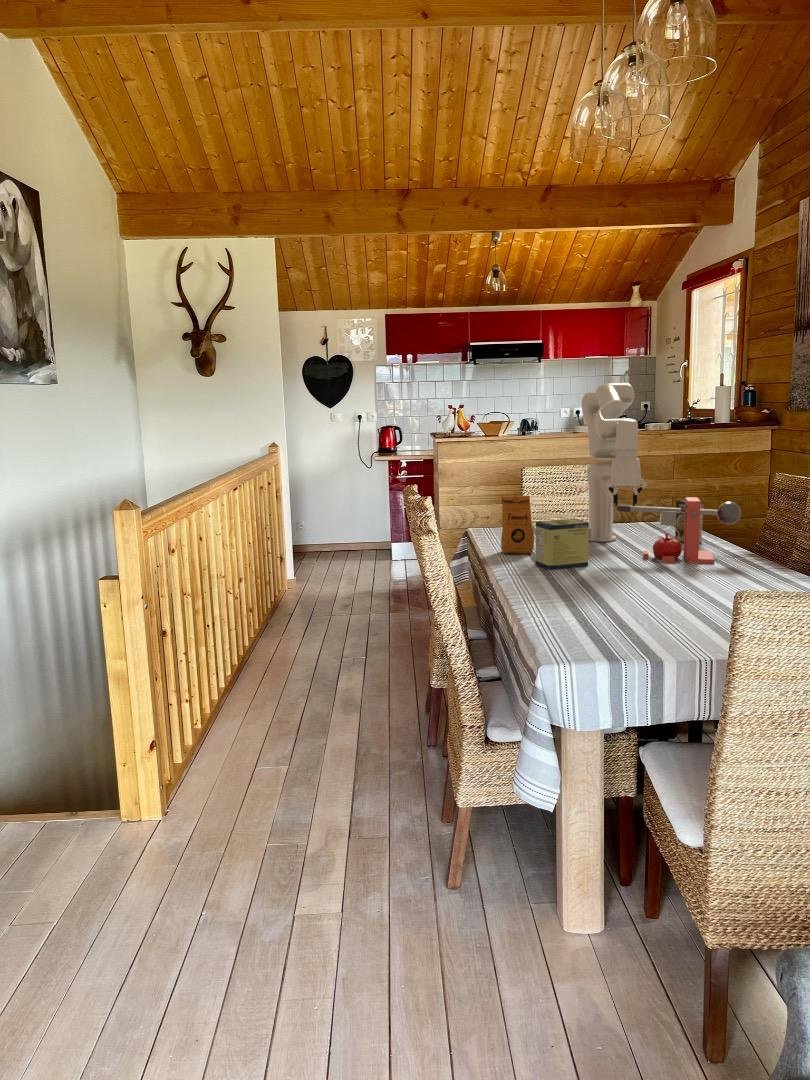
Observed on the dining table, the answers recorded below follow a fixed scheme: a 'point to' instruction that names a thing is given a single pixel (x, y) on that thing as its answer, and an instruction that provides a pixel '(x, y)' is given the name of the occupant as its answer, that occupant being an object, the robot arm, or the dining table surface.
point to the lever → (725, 511)
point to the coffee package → (517, 525)
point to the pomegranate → (667, 547)
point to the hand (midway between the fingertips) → (625, 505)
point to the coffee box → (681, 521)
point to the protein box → (562, 543)
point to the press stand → (691, 536)
